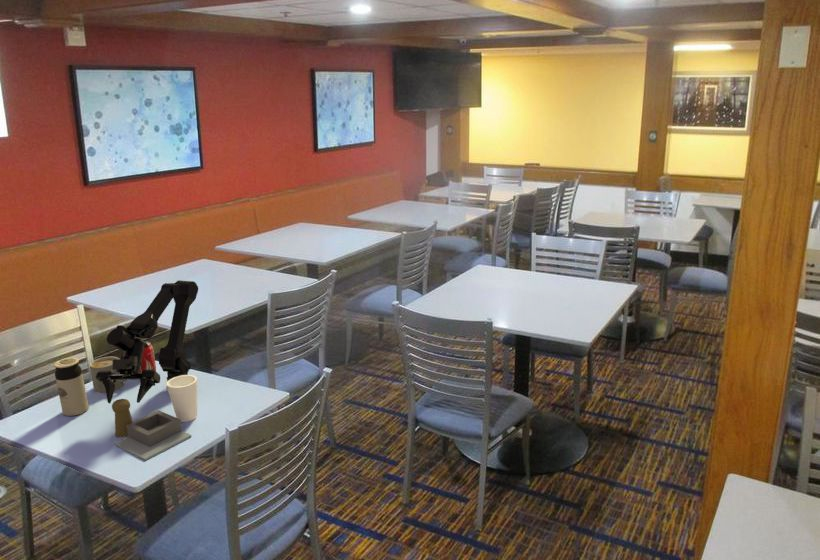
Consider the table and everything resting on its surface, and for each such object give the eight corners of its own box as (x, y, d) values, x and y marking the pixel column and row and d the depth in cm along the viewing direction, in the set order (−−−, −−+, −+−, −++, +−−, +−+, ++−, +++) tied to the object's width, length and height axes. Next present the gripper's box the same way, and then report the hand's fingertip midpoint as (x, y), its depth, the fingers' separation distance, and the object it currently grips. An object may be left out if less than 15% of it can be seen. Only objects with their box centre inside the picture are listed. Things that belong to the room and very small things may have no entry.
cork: (123, 439, 207) (117, 407, 203) (111, 434, 210) (105, 402, 207) (139, 430, 212) (134, 399, 208) (127, 425, 215) (122, 394, 211)
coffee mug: (87, 391, 240) (83, 365, 237) (108, 379, 249) (104, 355, 246) (116, 396, 236) (112, 370, 233) (137, 384, 244) (133, 359, 241)
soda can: (133, 375, 252) (128, 346, 248) (147, 368, 258) (143, 339, 254) (146, 379, 248) (141, 349, 245) (161, 371, 254) (156, 342, 251)
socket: (160, 423, 216) (158, 410, 214) (191, 436, 207) (189, 423, 205) (114, 445, 203) (112, 431, 202) (145, 460, 194) (143, 446, 193)
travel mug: (82, 403, 231) (72, 355, 226) (93, 409, 226) (83, 360, 221) (58, 412, 225) (48, 363, 220) (69, 419, 220) (59, 369, 215)
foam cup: (207, 416, 219) (202, 380, 215) (181, 427, 212) (175, 390, 209) (192, 407, 225) (187, 372, 221) (166, 418, 219) (161, 382, 215)
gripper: (93, 347, 210) (82, 395, 203) (151, 346, 210) (142, 393, 202) (108, 360, 220) (98, 406, 213) (164, 359, 220) (156, 405, 212)
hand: (123, 402), depth 210 cm, fingers open, 9 cm apart
